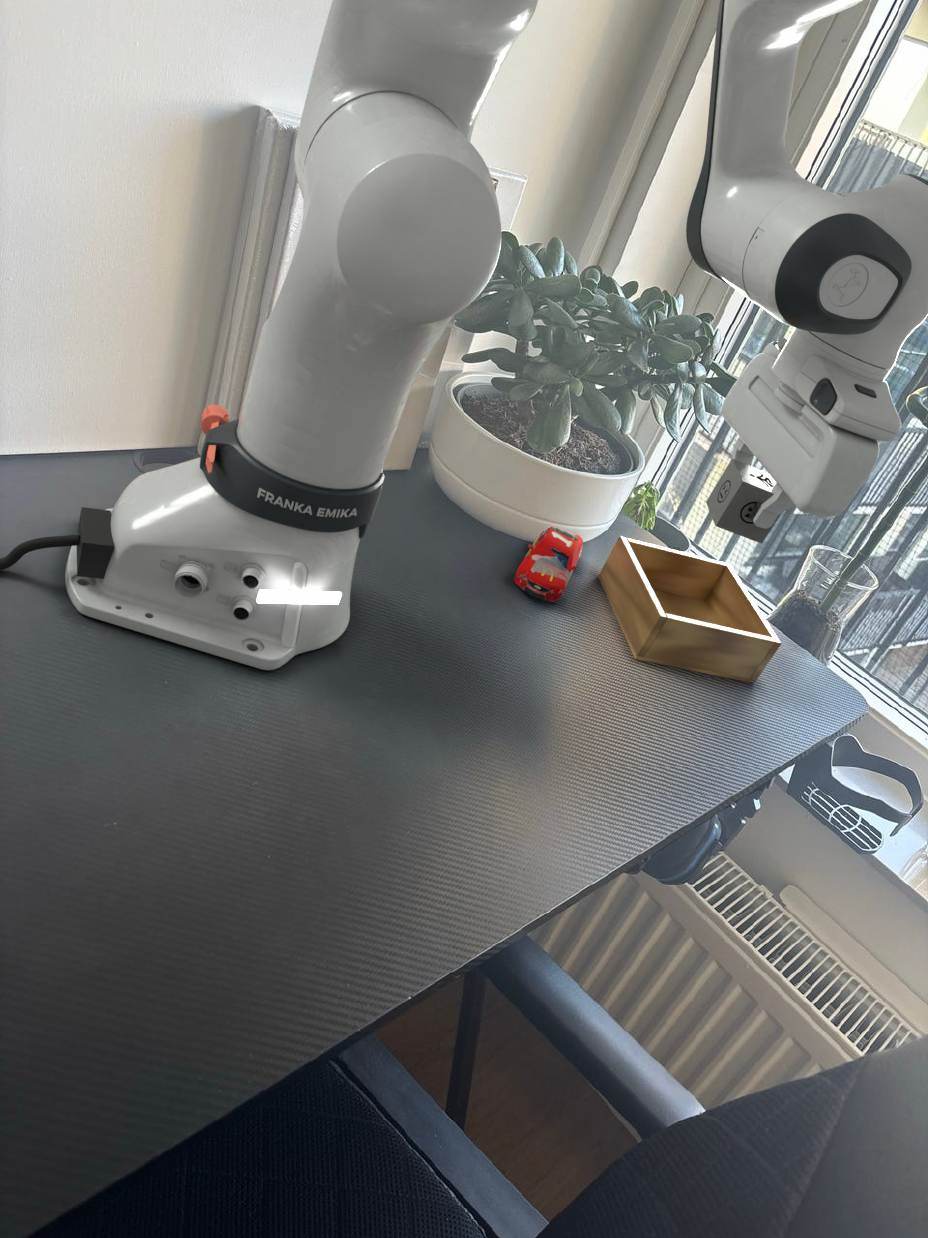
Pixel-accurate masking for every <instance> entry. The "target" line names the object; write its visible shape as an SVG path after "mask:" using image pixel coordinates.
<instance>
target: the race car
mask: <svg viewBox="0 0 928 1238" xmlns="http://www.w3.org/2000/svg"><path fill="white" fill-rule="evenodd" d="M538 534H539V533H538ZM538 534H537V535H538ZM583 545H584V540H583V538H582V537H581V536H580V534H578V535H573V534H571V533H569V532H566V531H563V530H561V529H558V528H554V527H550V528H548V529H547V530H545V531H543V532H542V533H540V534H539V535H538V536H536V538H535V539H534V541H533V542H532V544H530V543H529V544H528V545H527V547H528V549H529V550H528V551H527V553H526V555H525V556H524V558H523V559H522V562H521V563H520V565H519V566H518V568H517V571H516V573H515V576H513V582H514V583H515V584H516V585H517V586H518V587H519V588H520V590H522V591H524V592H525V593H527V594H528V595H530V596H532V597H534V598H536V599H539V600H542V601H544V602H550V603H556V604H558V603H559V601H560V599H561V597H562V596H563V594H564V592H565V590H566V588H567V586H568V583H569V581H570V579H571V577H572V574H573V573H574V571H577V570H578V567H577V564H578V562H579V560H580V558H581V557H582V552H583Z"/></svg>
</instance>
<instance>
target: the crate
mask: <svg viewBox="0 0 928 1238" xmlns="http://www.w3.org/2000/svg"><path fill="white" fill-rule="evenodd" d="M597 577H598V579H599V581H600V584H601V586H602V588H603V590H604V593H605V595H606V598H607V600H608V602H609V604H610V606H611V609H612V610H613V613H614V615H615V617H616V620H617V622H618V624H619V627H620V629H621V631H622V633H623V635H624V637H625V640H626V642H627V644H628V646H629V649H630V651H631V653H632V656H633V658H634V660H638V661H643V662H647V663H654V664H657V665H662V666H667V667H672V668H677V669H683V670H686V671H692V672H696V673H700V674H701V673H702V674H706V675H710V676H715V677H720V678H726V679H730V680H734V681H735V680H736V681H740V682H745V683H749V684H755V683H756V681H757V680H758V678H759V677H760V676H761V674H762V673H763V671H764V670H765V669H766V667H767V666H768V664H769V663H770V662H771V660H772V659H773V657H774V655H775V654H776V653H777V651H778V650H779V648H780V647H781V645H783V644H782V642H781V641H780V638H779V637H778V636H777V634H776V632H775V631H774V629H773V628H772V626H771V625H770V623H769V621H768V620H767V618H766V617H765V616H764V614H763V612H762V611H761V609H760V608H759V606H758V605H757V603H756V601H755V600H754V598H753V597H752V595H751V593H750V592H749V591H748V589H747V587H746V586H745V584H744V583H743V581H742V580H741V578H740V577H739V575H738V573H737V572H736V570H735V569H734V567H733V566H732V564H731V563H729V562H725V561H720V560H717V559H713V558H709V557H706V556H701V555H697V554H693V553H689V552H686V551H681V550H677V549H673V548H669V547H665V546H661V545H658V544H654V543H649V542H645V541H641V540H637V539H634V538H631V537H625V536H623V535H619V536H618V538H617V540H616V542H615V544H614V545H613V548H612V549H611V551H610V553H609V555H608V556H607V558H606V560H605V562H604V564H603V566H602V568H601V570H600V572H599V573H598V575H597Z"/></svg>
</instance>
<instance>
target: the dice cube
mask: <svg viewBox="0 0 928 1238" xmlns="http://www.w3.org/2000/svg"><path fill="white" fill-rule="evenodd" d="M775 484H776V481H775V480H774V479H773V478H772V476H771V475H770V474H769V473H768V472H767V471H764V470H762V469H760V468H757V467H755V466H752V465H751V466H750V465H747V464H745V463H742V462H740V461H737V460H735V459H731V458H730V461H729V463H728V464H727V465H726V467H725V469H724V471H723V472H722V475H721V476H720V478H719V479H718V481H717V483H716V484H715V486H714V488H712V491H711V492H710V494H709V496H708V497H707V499H706V501H705V503H706V506H707V509H708V511H709V514H710V517H711V518H712V521H713V524H714V526H715V527H717V528H719V529H722V530H725V531H726V532H727V531H728V532H730V533H733V534H735V535H738V536H740V537H743V538H745V539H748V540H750V541H753V542H756V543H758V544H761V545H763V543H764V541H765V540H766V539H767V537H768V535H769V534H770V532H771V530H772V529H773V528H774V526H775V525H776V523H777V522H778V520H779V518H780V517H781V515H782V514H780V515H778V516H777V518H776V519H775V521H774V522H773V524H772V526H771V527H770V528H768V529H764V528H761V527H757V526H756V525H755V524H754V522H753V521H752V520H751V518H750V517H749V514H750V512H751V511H752V510H753V507H754V506H755V504H756V503H757V502H761V503H764V502H766V501H767V500H768V499H769V498H771V497H772V496H773V495H774V494H773V493H772V489H773V488H774V486H775Z"/></svg>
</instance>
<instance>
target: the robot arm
mask: <svg viewBox="0 0 928 1238" xmlns="http://www.w3.org/2000/svg"><path fill="white" fill-rule="evenodd" d="M538 1H539V0H332V1H331V5H330V7H329V11H328V15H327V18H326V21H325V25H324V29H323V32H322V36H321V39H320V43H319V47H318V51H317V54H316V58H315V62H314V65H313V70H312V73H311V77H310V82H309V85H308V89H307V92H306V97H305V101H304V105H303V110H302V113H301V117H300V121H299V126H298V130H297V134H296V139H295V146H294V155H293V157H294V158H293V160H294V161H293V162H294V171H295V176H296V180H297V184H298V187H299V190H300V194H301V197H302V199H303V208H302V209H303V211H302V213H303V214H302V221H301V228H300V233H299V237H298V241H297V244H296V247H295V249H294V253H293V256H292V259H291V262H290V265H289V267H288V271H287V273H286V276H285V278H284V281H283V284H282V286H281V289H280V290H279V291H280V292H279V294H278V296H277V299H276V301H275V304H274V306H273V308H272V311H271V313H270V314H269V317H268V318H267V319H266V321H265V322H264V324H263V326H262V328H261V331H260V334H259V335H260V336H259V340H258V344H257V347H256V351H255V356H254V358H253V363H252V367H251V371H250V376H249V380H248V384H247V388H246V391H245V395H244V399H243V404H242V407H241V412H240V415H239V418H236V419H233V420H230V415H229V413H227V412H228V410H227V409H226V408H225V407H223V406H222V405H220V404H210V405H208V406H207V407H205V408H204V409H203V412H202V413H201V422H200V429H201V432H202V433H203V434H204V435H205V436H204V440H203V443H202V447H201V452H200V456H199V457H196V458H193V459H189V460H186V461H183V462H180V463H176V464H173V465H170V466H165V467H163V468H158V469H155V470H152V471H148V472H144V473H142V474H140V475H138V476H136V478H134V479H133V480H132V481H130V483H129V484H128V485H127V486H126V487H125V488H124V490H123V491H122V492H121V495H120V496H119V497H118V499H117V500H116V502H115V504H114V506H113V507H111V508H105V509H101V508H92V507H85V506H81V508H80V514H79V521H78V526H77V533H76V534H70V535H56V536H55V535H53V536H42V537H37V538H32V539H29V540H27V541H23V542H21V543H19V544H18V545H17V546H15V547H14V548H13V549H12V550H11V551H10V552H9V553H8V554H7V555H6V556H4V557H2V558H0V571H2V570H5V569H9V568H10V567H13V566H14V565H15V564H17V562H18V561H19V560H20V559H21V558H23V557H24V555H26V554H29V553H31V552H34V551H39V550H42V549H50V548H62V547H70V550H69V553H68V558H67V561H66V565H65V572H64V573H65V574H64V581H65V582H64V583H65V589H66V592H67V596H68V597H69V599H70V601H71V604H72V605H73V606H74V608H75V609H76V610H77V611H78V612H79V614H81V615H83V616H87V617H89V618H92V619H94V620H95V619H96V620H99V621H102V622H105V623H107V624H112V625H115V626H118V627H121V628H124V629H128V630H130V631H131V630H132V631H134V632H138V633H141V634H144V635H148V636H150V637H154V638H157V639H160V640H163V641H166V642H171V643H174V644H177V645H180V646H183V647H186V648H190V649H194V650H196V651H200V652H202V653H203V652H204V653H206V654H209V655H212V656H217V657H220V658H223V659H226V660H230V661H233V662H236V663H239V664H243V665H246V666H249V667H252V668H256V669H259V670H263V671H274V670H276V669H279V668H282V666H284V665H286V664H287V663H288V662H290V660H291V659H293V658H294V657H295V656H297V655H299V654H304V653H307V652H311V651H315V650H318V649H321V648H324V647H326V646H327V645H328V646H329V645H330V644H331V643H333V642H335V641H336V640H338V639H339V638H340V637H341V636H342V635H343V634H344V632H345V631H346V630H347V628H348V627H349V623H350V619H351V592H352V591H351V590H352V582H353V575H354V568H355V562H356V559H357V554H358V549H359V544H360V541H361V539H362V538H364V537H365V534H366V532H367V529H368V527H369V525H371V522H372V521H373V518H374V515H375V512H376V509H377V506H378V504H379V501H380V498H381V494H382V491H383V487H384V486H383V485H384V481H385V477H386V476H385V474H384V465H385V462H386V459H387V456H388V453H389V451H390V448H391V446H392V443H393V441H394V437H395V434H396V431H397V429H398V426H399V423H400V420H401V417H402V415H403V412H404V409H405V406H406V404H407V401H408V398H409V396H410V393H411V390H412V389H413V386H414V384H415V382H416V380H417V378H418V376H419V374H420V373H421V370H422V368H423V366H424V365H425V363H426V362H427V360H428V358H429V356H430V355H431V353H432V352H433V350H434V348H435V346H436V345H437V344H438V342H439V340H440V338H441V337H442V335H443V334H444V332H445V331H446V329H447V327H448V326H449V324H450V322H451V321H452V320H453V318H454V316H455V315H457V314H459V313H460V312H462V311H463V310H465V309H466V308H467V307H469V305H471V304H472V303H473V302H474V301H475V300H476V299H477V298H478V297H479V296H480V294H481V293H482V292H483V291H484V290H485V288H486V287H487V285H488V284H489V282H490V280H491V278H492V277H493V274H494V272H495V269H496V267H497V264H498V261H499V257H500V254H501V248H502V224H501V223H502V221H501V215H500V207H499V201H498V197H497V193H496V189H495V184H494V181H493V178H492V175H491V172H490V170H489V168H488V166H487V163H486V162H485V160H484V158H483V157H482V155H481V154H480V153H479V151H478V150H477V149H476V147H475V146H474V145H473V144H472V143H471V139H472V135H473V131H474V128H475V124H476V121H477V119H478V116H479V114H480V112H481V109H482V107H483V106H484V103H485V102H486V101H485V100H486V99H487V96H488V95H489V92H490V90H491V88H492V86H493V84H494V81H495V79H496V78H497V75H498V73H499V71H500V70H501V68H502V65H503V63H504V62H505V59H506V58H507V56H508V55H509V52H510V50H511V49H512V48H513V46H514V44H515V42H516V41H517V39H518V37H519V36H520V35H521V34H522V33H523V31H525V29H526V28H527V27H528V25H529V23H530V22H531V20H532V18H533V16H534V14H535V12H536V9H537V6H538ZM863 1H864V0H719V5H718V13H717V20H716V27H715V39H714V50H713V58H712V59H713V60H712V71H711V81H710V94H709V96H710V97H709V105H708V117H707V126H706V127H707V129H706V130H707V131H706V139H705V148H704V155H703V156H704V157H703V161H702V166H701V169H700V173H699V177H698V179H697V182H696V186H695V189H694V192H693V195H692V198H691V201H690V205H689V209H688V213H687V217H686V218H687V219H686V225H685V230H686V231H685V237H686V244H687V248H688V251H689V254H690V256H691V257H692V260H693V261H694V263H695V264H696V266H697V267H699V268H700V269H701V270H702V271H703V272H704V273H706V274H708V275H709V276H711V277H713V278H715V279H717V280H719V281H720V282H722V283H724V284H727V285H728V286H729V287H732V288H733V289H735V290H736V291H737V292H739V294H740V295H742V296H744V297H745V298H746V299H748V300H749V301H751V302H752V304H755V305H756V306H758V307H759V308H761V309H763V310H764V311H766V312H767V313H768V314H770V315H771V316H773V317H774V318H775V319H776V320H778V321H779V322H781V323H783V324H785V325H786V326H790V327H792V328H794V329H793V331H792V333H791V334H790V336H789V338H786V337H780V338H778V339H775V340H773V341H772V342H769V343H767V345H766V346H765V347H764V348H763V350H762V352H761V353H758V354H757V355H755V356H754V357H753V359H752V360H750V361H749V363H748V364H747V365H746V367H745V368H744V369H743V371H742V372H741V374H740V375H739V377H738V378H737V379H736V381H735V382H734V383H733V385H732V386H731V388H730V390H729V391H728V393H727V395H726V396H725V398H724V400H723V402H722V407H721V411H720V414H721V416H722V418H723V419H724V421H725V422H726V423H727V424H728V425H729V427H730V428H731V429H732V430H733V431H734V433H735V434H736V435H737V436H738V438H737V439H736V441H735V442H734V444H733V446H732V447H733V448H732V453H731V458H730V460H731V459H735V460H737V461H740V462H742V463H745V464H747V465H750V466H752V463H753V460H754V457H755V459H757V460H758V462H759V463H760V464H761V465H762V467H763V468H764V469H765V470H766V472H767V473H769V474H770V475H771V476H772V478H773V479H774V480H775V481H776V484H775V486H774V488H773V489H772V493H773V494H774V495H773V496H772V497H771V498H769V499H768V500H767V501H766V502H764V503H761V502H757V503H756V504H755V506H754V507H753V510H752V511H751V512H750V514H749V517H750V518H751V520H752V521H753V522H754V524H755V525H756V526H757V527H761V528H764V529H768V528H770V527H771V526H772V524H773V522H774V521H775V519H776V518H777V516H778V515H780V514H781V515H782V514H784V513H785V512H787V511H788V510H791V509H792V508H793V507H796V509H797V510H799V511H800V512H801V513H803V514H806V515H809V516H812V517H816V518H819V519H823V520H831V519H833V518H835V517H838V516H840V515H841V514H842V513H843V512H845V510H846V509H847V507H848V506H849V505H850V504H851V502H852V501H853V500H854V498H855V497H856V496H857V494H858V493H859V491H860V489H861V488H862V487H863V485H864V483H865V482H866V481H867V479H868V478H869V476H870V474H871V473H872V471H873V470H874V468H875V466H876V464H877V461H878V459H879V455H880V444H879V442H881V443H884V444H889V443H891V442H892V441H893V440H894V439H895V438H896V436H897V435H898V434H899V432H900V430H901V428H902V421H901V418H900V415H899V413H898V411H897V409H896V406H895V403H894V400H893V398H892V395H891V392H890V387H889V384H888V381H886V379H887V377H888V376H889V374H890V372H892V370H893V368H894V366H895V365H896V362H897V359H898V356H899V354H900V351H901V348H902V347H903V345H904V343H905V342H906V340H907V338H908V337H909V336H910V335H911V334H912V333H913V332H914V331H915V330H916V329H917V328H918V327H919V326H921V324H922V323H924V321H925V320H926V318H927V317H928V180H927V179H925V178H923V177H921V176H918V175H915V174H912V173H904V172H903V173H899V174H897V175H895V176H894V177H893V178H892V179H891V180H890V181H889V182H887V183H885V184H882V185H879V186H877V187H874V188H870V189H866V190H860V191H851V192H843V191H839V192H838V193H837V194H835V193H834V192H831V191H829V190H826V189H824V188H822V187H820V186H818V185H816V184H815V183H813V182H812V181H810V180H808V179H806V178H805V177H802V176H801V174H799V173H798V171H797V170H796V168H795V167H794V165H793V164H792V162H791V160H790V158H789V156H788V153H787V149H786V135H787V128H788V120H789V116H790V109H791V102H792V101H791V100H792V97H793V96H792V95H793V90H794V89H793V88H794V83H795V74H796V69H797V62H798V57H799V53H800V49H801V47H802V43H803V42H804V40H805V37H806V35H807V34H808V32H809V30H810V29H811V28H812V27H813V26H814V24H816V23H817V22H818V21H820V20H822V19H825V18H828V17H830V16H833V15H836V14H838V13H841V12H844V11H845V10H848V9H850V8H852V7H854V6H856V5H858V4H859V3H861V2H863ZM781 515H780V516H781Z"/></svg>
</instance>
